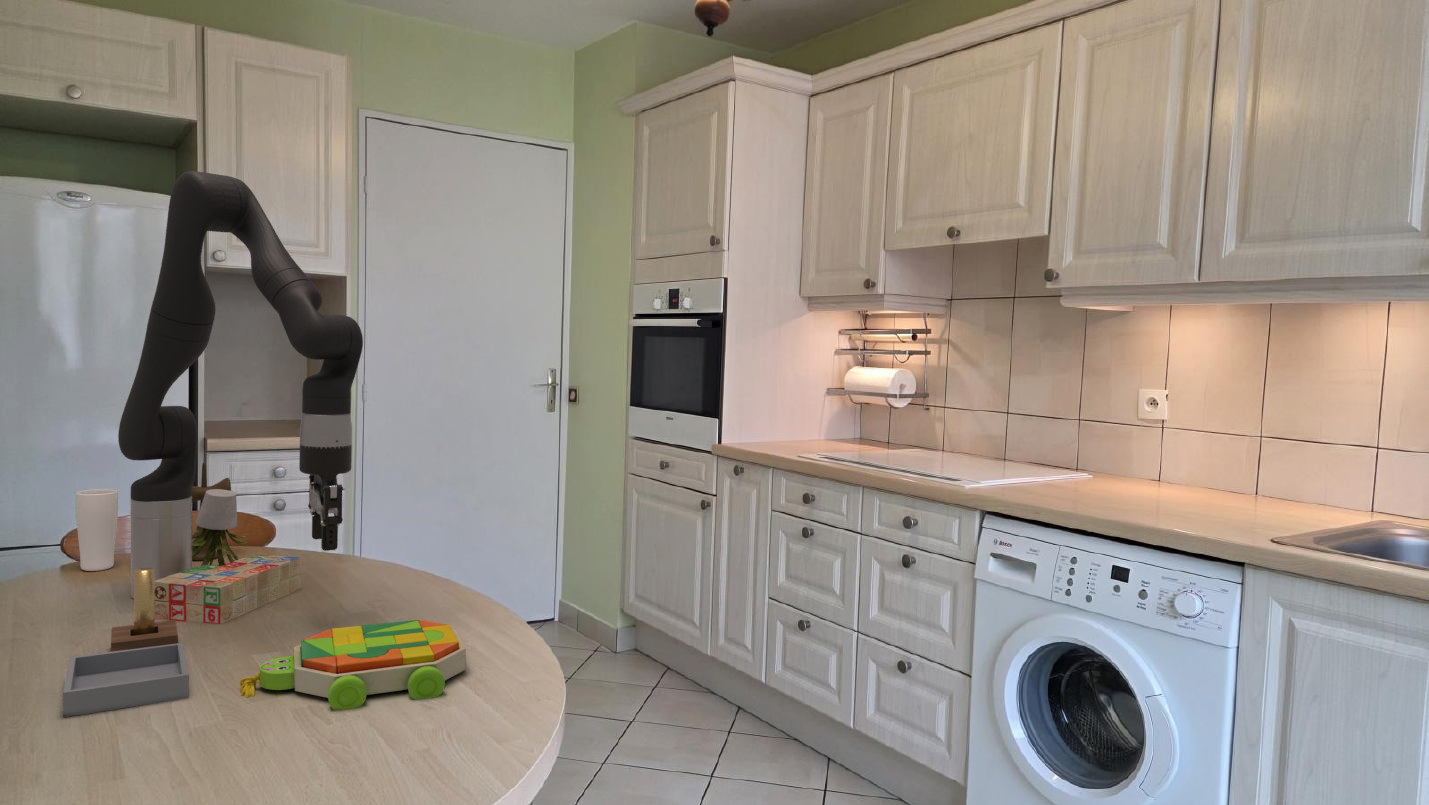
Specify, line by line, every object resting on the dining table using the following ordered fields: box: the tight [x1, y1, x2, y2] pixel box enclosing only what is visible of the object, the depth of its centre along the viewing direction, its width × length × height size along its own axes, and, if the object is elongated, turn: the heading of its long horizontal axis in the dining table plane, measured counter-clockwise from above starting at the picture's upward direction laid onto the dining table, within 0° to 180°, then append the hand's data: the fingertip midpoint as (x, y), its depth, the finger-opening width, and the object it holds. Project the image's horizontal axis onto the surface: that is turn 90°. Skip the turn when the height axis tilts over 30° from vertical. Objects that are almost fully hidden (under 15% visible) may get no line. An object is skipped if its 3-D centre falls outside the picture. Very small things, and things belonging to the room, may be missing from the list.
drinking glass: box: [75, 488, 119, 572], centre depth 175 cm, size 7×7×15 cm
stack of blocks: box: [154, 554, 301, 625], centre depth 155 cm, size 21×6×12 cm
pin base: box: [110, 620, 179, 652], centre depth 131 cm, size 8×8×3 cm
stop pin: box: [133, 568, 156, 636], centre depth 131 cm, size 2×2×12 cm
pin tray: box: [62, 642, 190, 718], centre depth 118 cm, size 14×13×3 cm
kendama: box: [192, 461, 232, 562], centre depth 185 cm, size 6×10×20 cm, turn 123°
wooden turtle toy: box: [239, 619, 467, 711], centre depth 123 cm, size 22×28×6 cm
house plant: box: [192, 489, 248, 566], centre depth 174 cm, size 14×14×16 cm
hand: (324, 544), depth 143 cm, fingers open, 8 cm apart
